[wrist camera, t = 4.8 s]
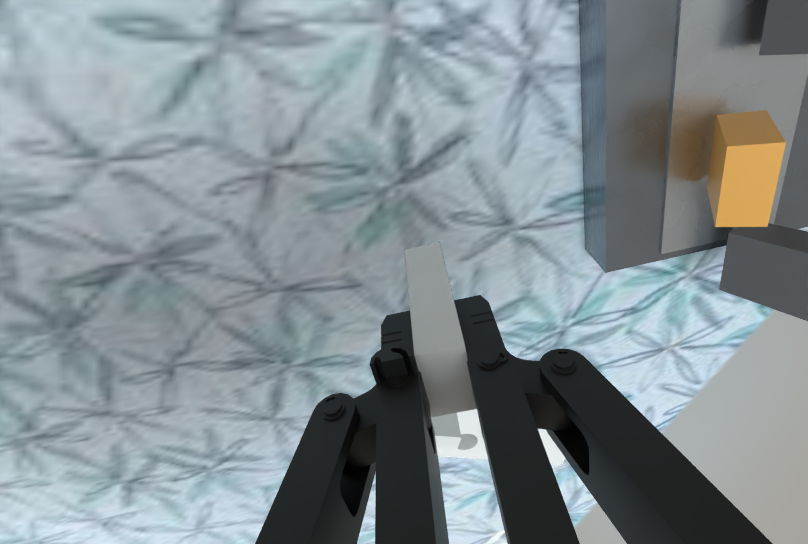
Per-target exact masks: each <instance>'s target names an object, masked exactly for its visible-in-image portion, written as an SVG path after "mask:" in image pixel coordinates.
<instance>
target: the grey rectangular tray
mask: <svg viewBox="0 0 808 544" xmlns="http://www.w3.org/2000/svg"><path fill="white" fill-rule="evenodd" d="M767 3H768V0H579V8H580V48H581V89H582V130H583V171H584V211H585V249H586V251H587V252H588V253H589V254H590V255H591V256H592V257H593V259H594V260H595V261H596V262H597V263H598V264H599V266H600V267H601V268H602V269H603V270H604V271H605V273H607V272H611V271H615V270H620V269H624V268H628V267H633V266H637V265H642V264H646V263H650V262H655V261H659V260H664V259H668V258H672V257H677V256H681V255H685V254H690V253H694V252H699V251H703V250H707V249H712V248H716V247H720V246H725V245H727V241H728V235H729V232H731V231H732V230H734V229H735V228H736V227H715V224H714V219H713V214H712V209H711V204H710V199H709V195H708V190H707V184H708V176H709V169H710V161H711V153H712V146H713V138H714V130H715V123H716V115H721V114H731V113H741V112H751V111H760V110H767V112H768V114H769V115H770V117H771V118H772V120H773V122H774V123H775V125H776V127H777V128H778V130H779V132H780V133H781V135H782V136H783V138H784V140H785V141H786V145H785V149H784V154H783V159H782V163H781V168H780V172H779V177H778V181H777V186H776V191H775V195H774V200H773V204H772V209H771V213H770V218H769V223H771V224H775V225H779V226H784V227H788V228H793V229H799V228H804V227H808V54H792V55H759V51H760V45H761V39H762V33H763V27H764V21H765V15H766V9H767Z"/></svg>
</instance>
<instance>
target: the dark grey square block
mask: <svg viewBox="0 0 808 544" xmlns="http://www.w3.org/2000/svg"><path fill="white" fill-rule="evenodd" d="M719 290H722V291H725V292H728V293H730V294H733V295H736V296H739V297H742V298H744V299H747V300H750V301H753V302H756V303H758V304H761V305H764V306H767V307H770V308H772V309H775V310H778V311H781V312H784V313H786V314H789V315H792V316H795V317H798V318H800V319H803V320H806V321H808V232H806V231H801V230H797V229H793V228H788V227H784V226H779V225H775V224H771V223H768V227H736V228H735V229H734V230H732V231H731V232H729V235H728V241H727V247H726V253H725V259H724V265H723V271H722V277H721V283H720V289H719Z"/></svg>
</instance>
